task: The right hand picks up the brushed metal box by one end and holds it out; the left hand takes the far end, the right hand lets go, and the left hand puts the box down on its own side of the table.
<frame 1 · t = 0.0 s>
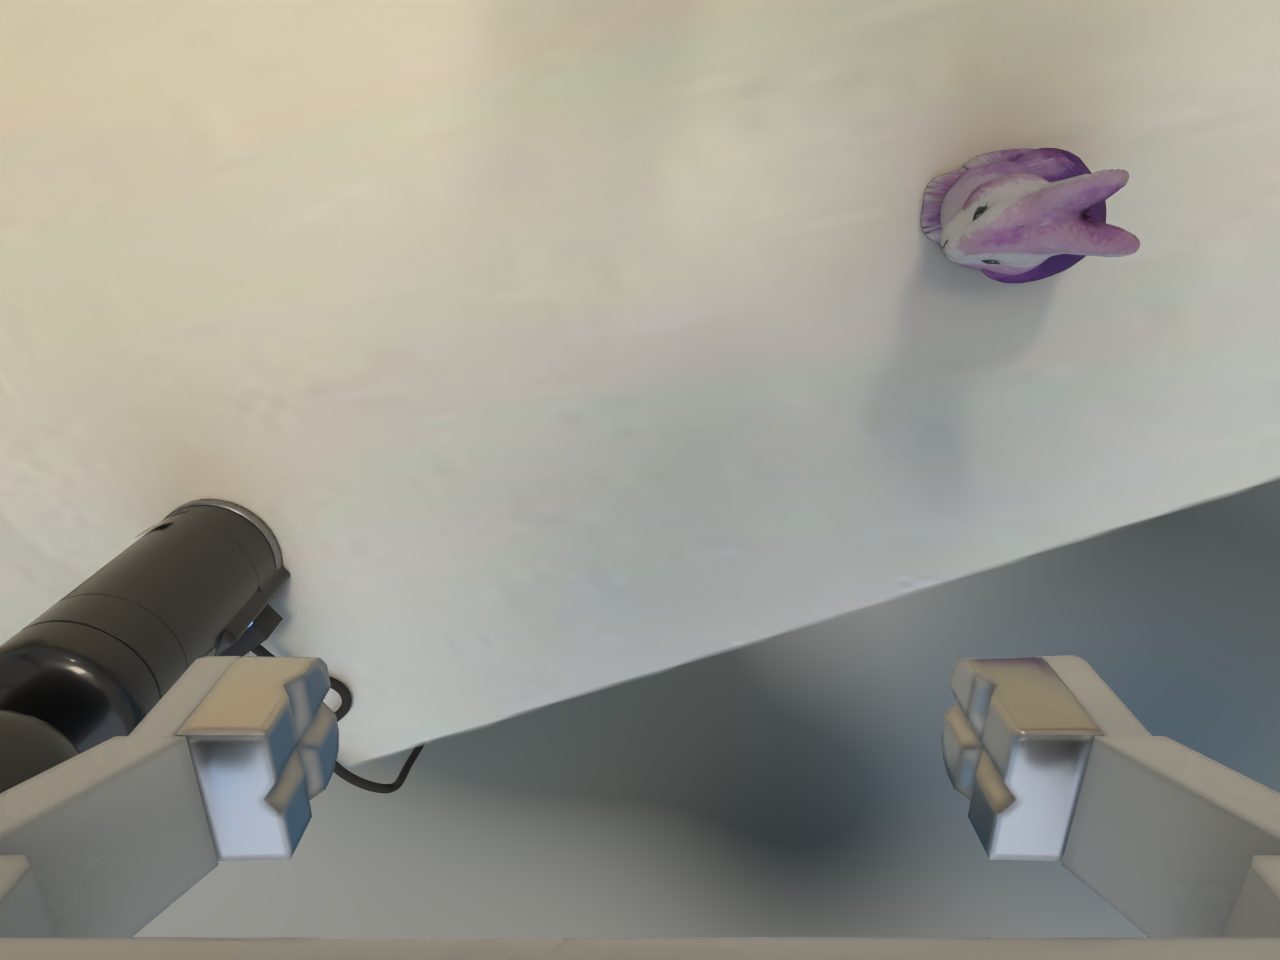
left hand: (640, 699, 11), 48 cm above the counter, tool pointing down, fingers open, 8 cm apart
figurine: (984, 216, 54), on the counter
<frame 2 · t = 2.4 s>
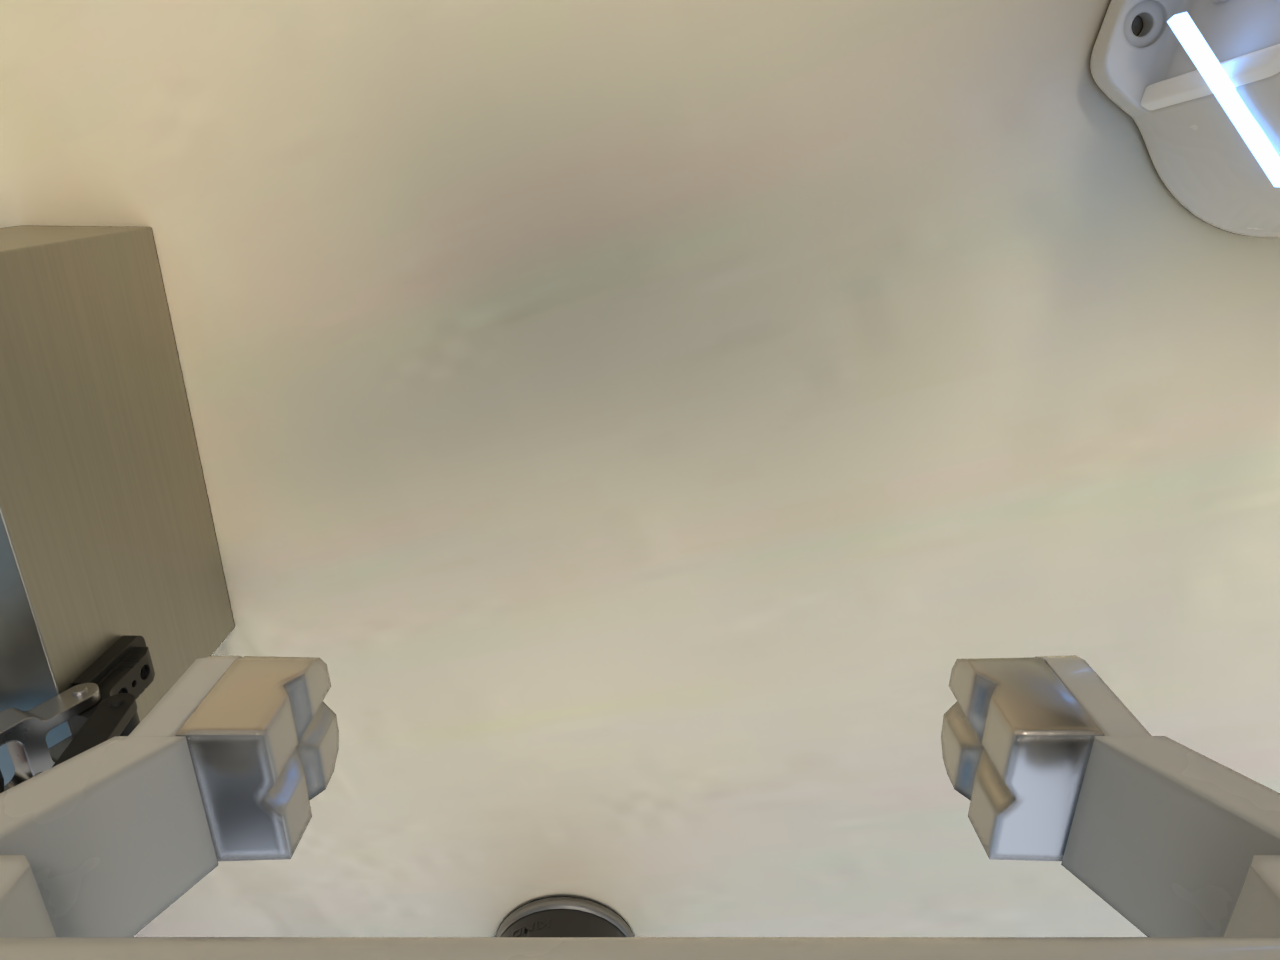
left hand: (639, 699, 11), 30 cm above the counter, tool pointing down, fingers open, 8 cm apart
box: (138, 446, 41), on the counter, touching right hand
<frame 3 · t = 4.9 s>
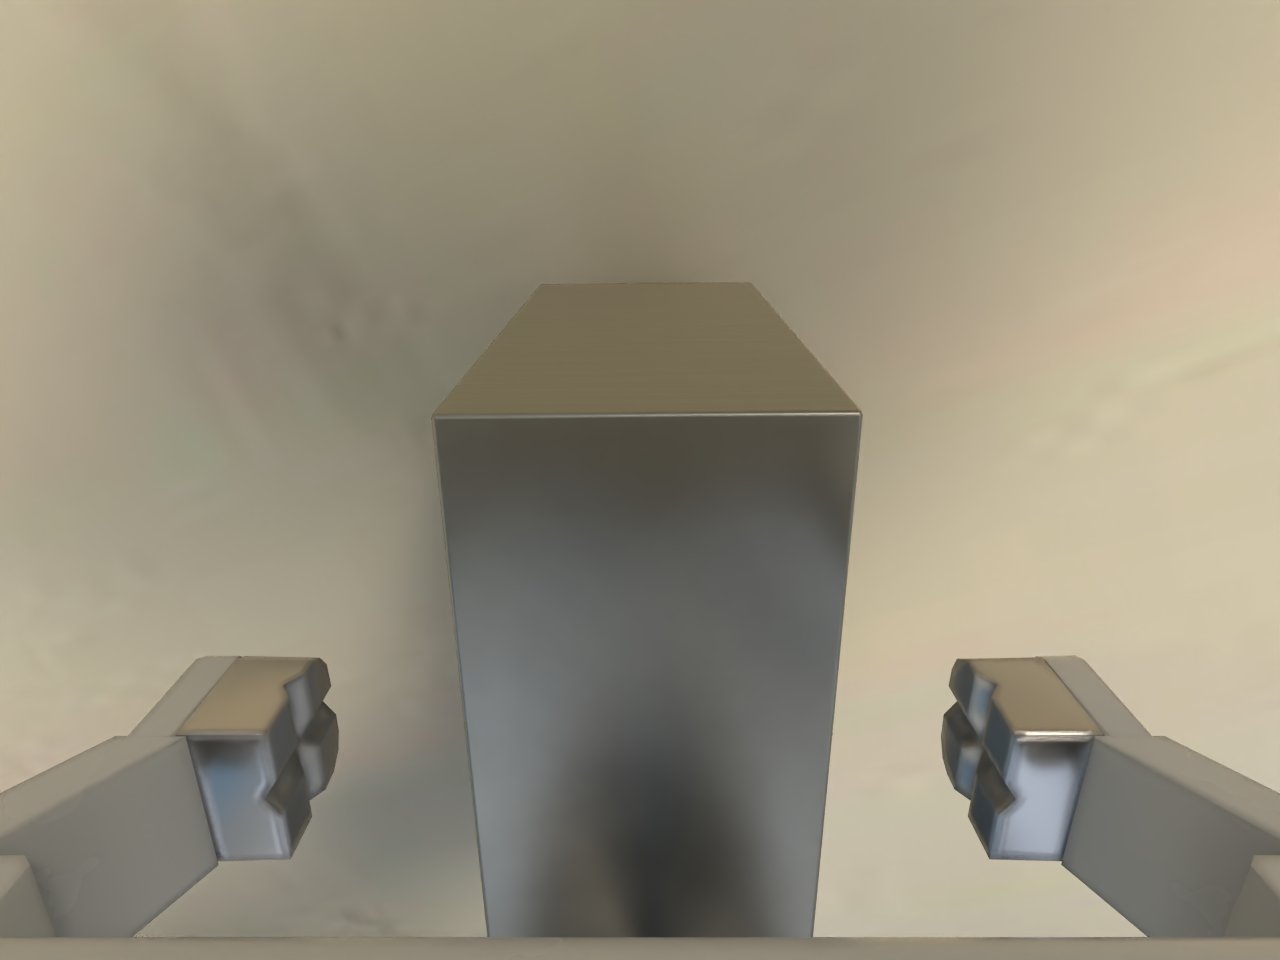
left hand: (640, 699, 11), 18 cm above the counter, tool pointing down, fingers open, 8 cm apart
box: (647, 611, 27), point 4 cm above the counter, touching right hand
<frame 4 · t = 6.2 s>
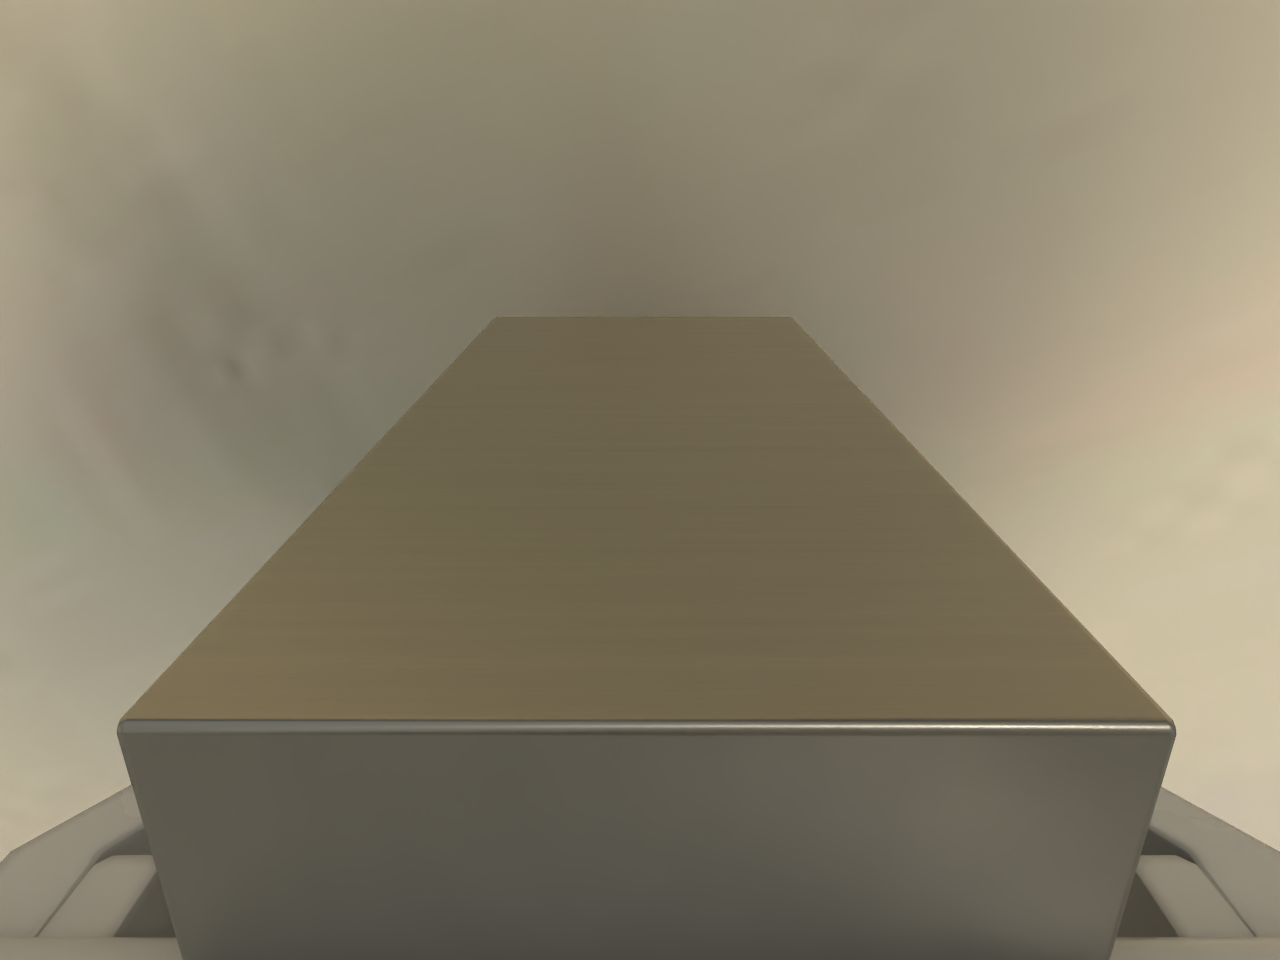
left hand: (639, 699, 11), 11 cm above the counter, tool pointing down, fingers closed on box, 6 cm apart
box: (643, 746, 20), point 4 cm above the counter, touching left hand, right hand
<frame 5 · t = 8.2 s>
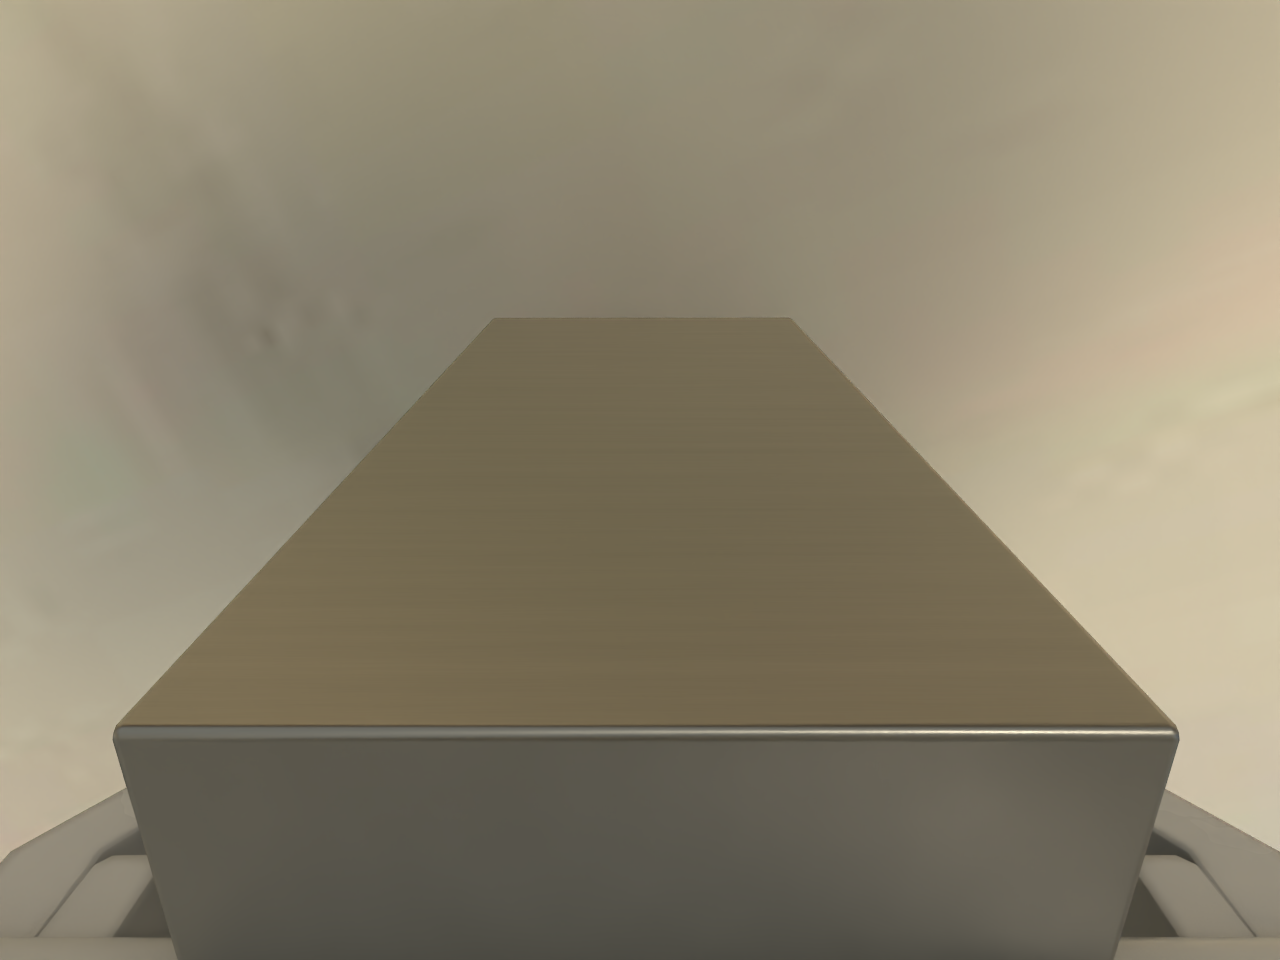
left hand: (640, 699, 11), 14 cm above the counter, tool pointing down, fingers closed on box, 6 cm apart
box: (642, 747, 20), point 7 cm above the counter, touching left hand
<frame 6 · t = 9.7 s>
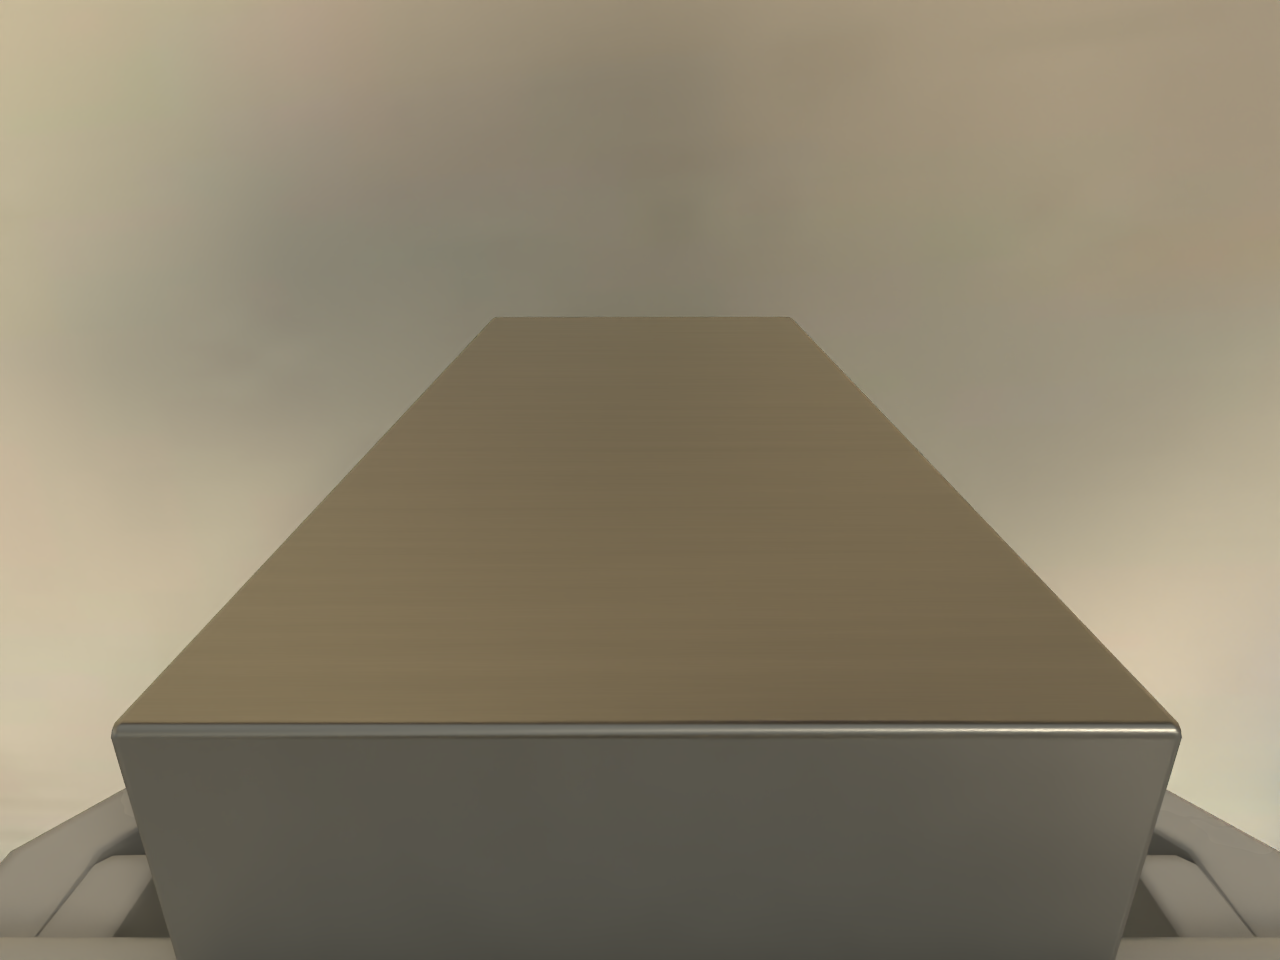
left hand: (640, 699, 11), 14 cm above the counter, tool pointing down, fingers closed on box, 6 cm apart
box: (642, 747, 20), point 7 cm above the counter, touching left hand
when the left hand's fingers open (9 cm above the counter, at t = 11.0 s): box stays where it is, on the counter.
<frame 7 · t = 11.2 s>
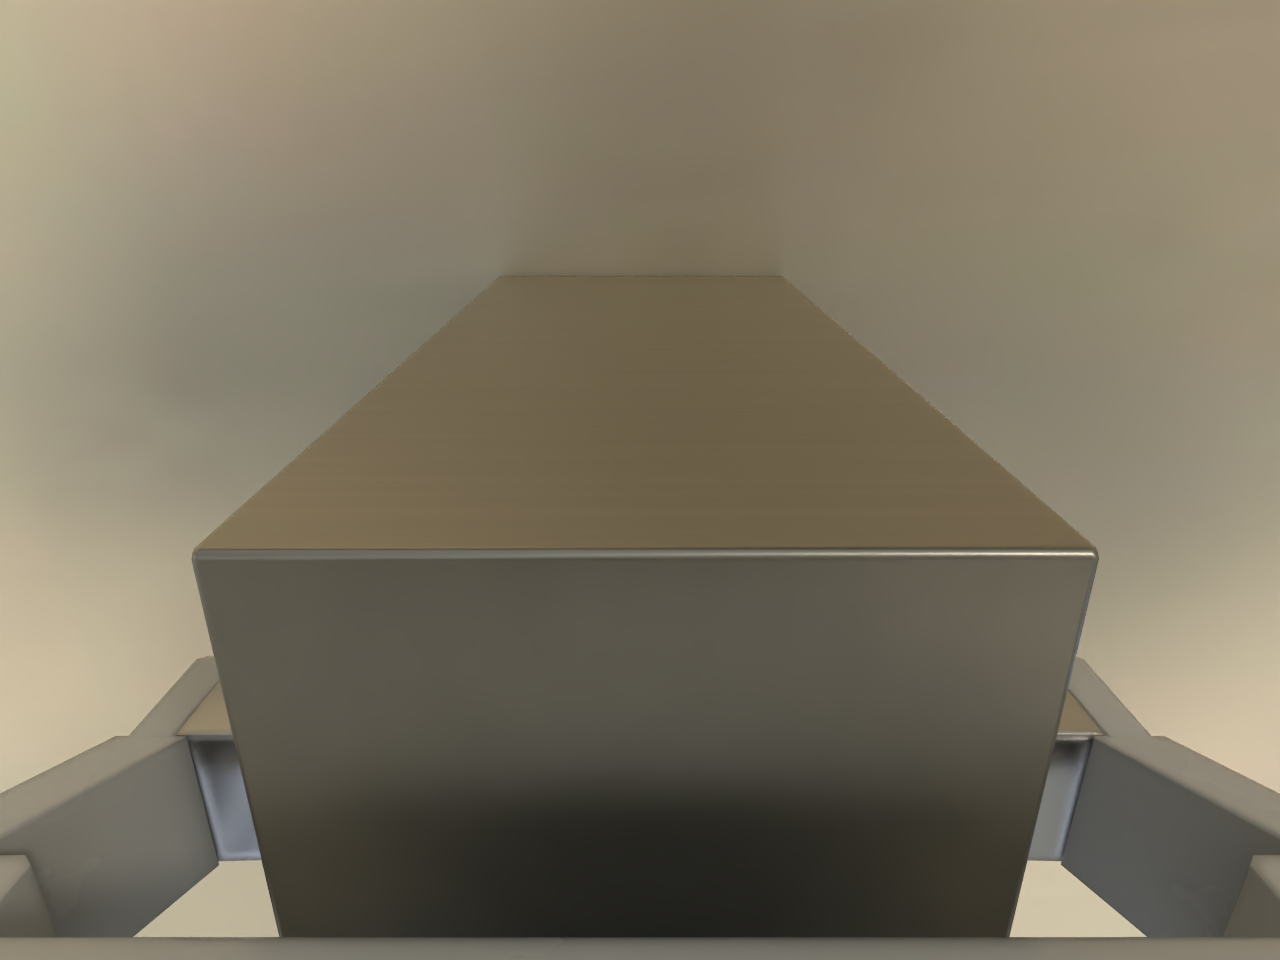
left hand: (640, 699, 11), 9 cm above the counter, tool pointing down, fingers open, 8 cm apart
box: (641, 696, 21), on the counter
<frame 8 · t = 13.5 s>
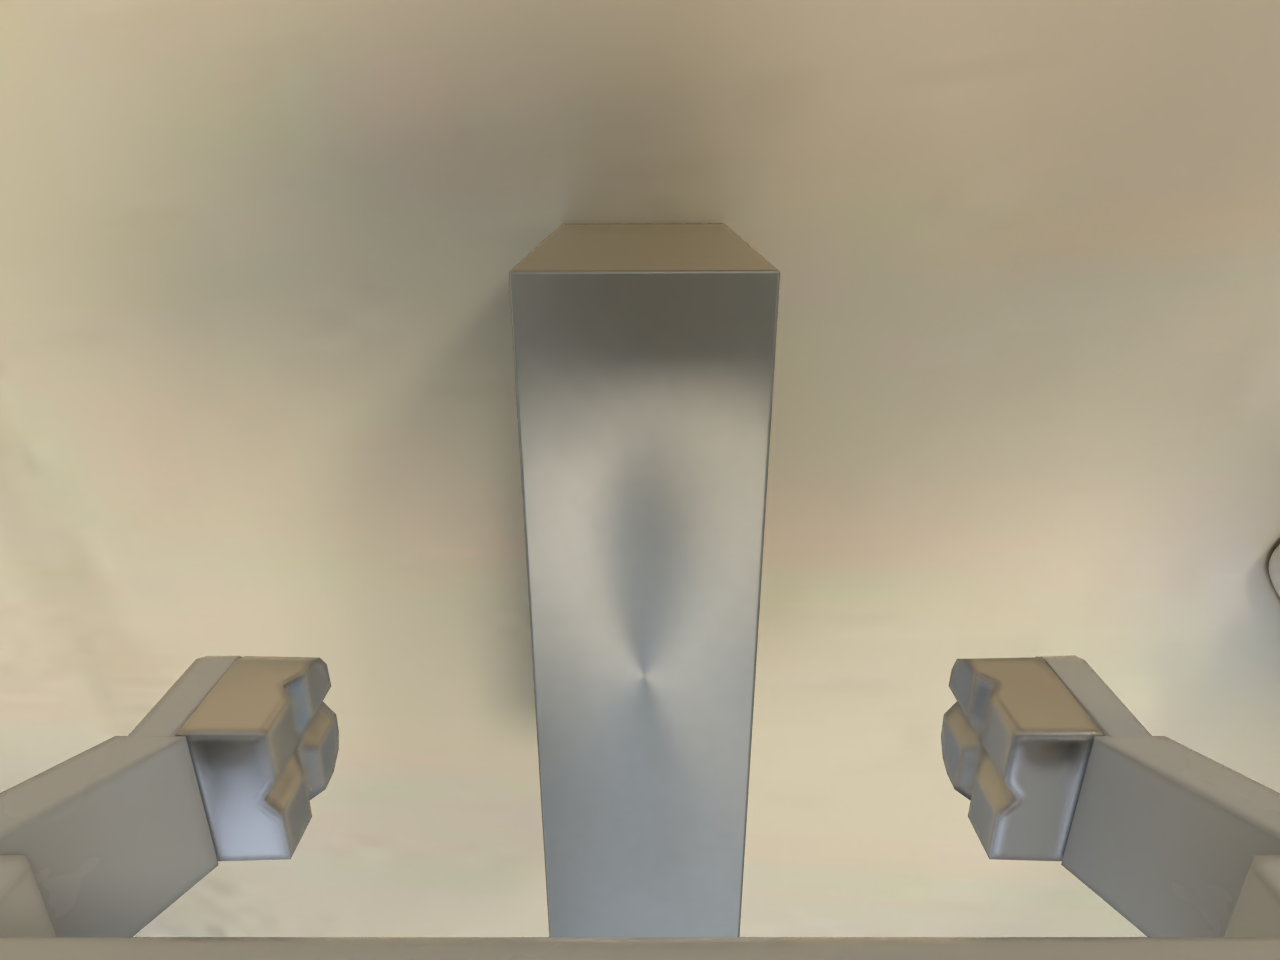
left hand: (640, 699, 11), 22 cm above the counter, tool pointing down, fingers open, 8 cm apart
box: (643, 493, 33), on the counter
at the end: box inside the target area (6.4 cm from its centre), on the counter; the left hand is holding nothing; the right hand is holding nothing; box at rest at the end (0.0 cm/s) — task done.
